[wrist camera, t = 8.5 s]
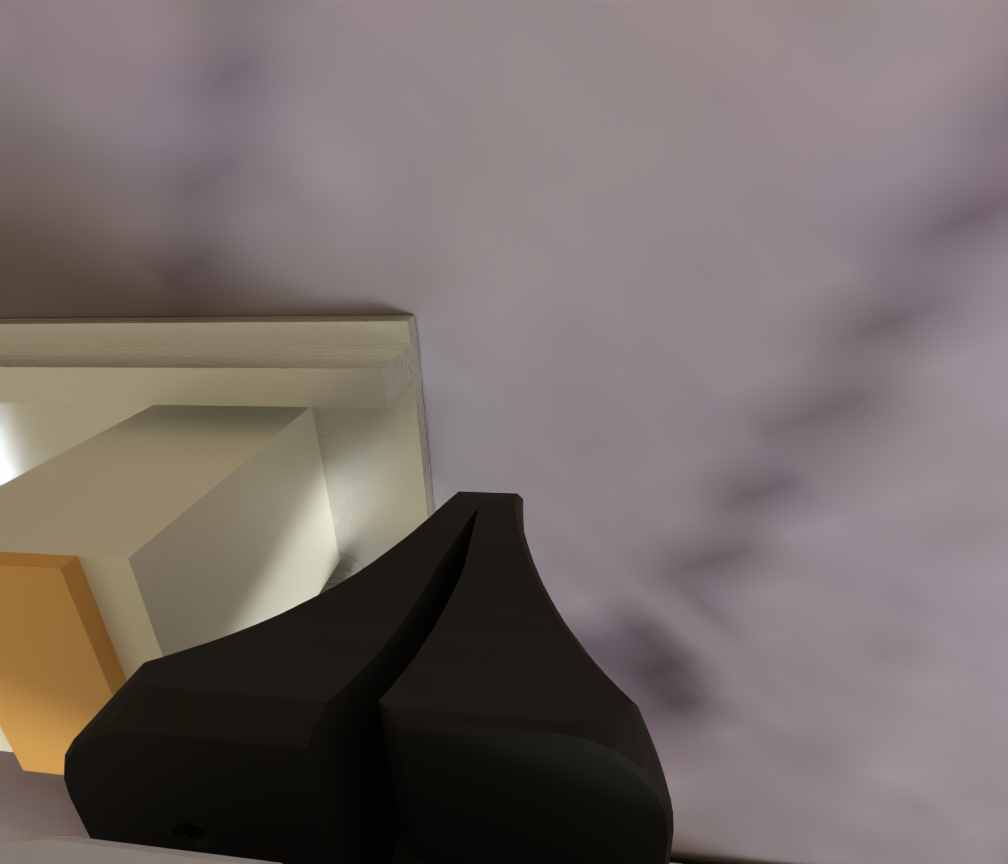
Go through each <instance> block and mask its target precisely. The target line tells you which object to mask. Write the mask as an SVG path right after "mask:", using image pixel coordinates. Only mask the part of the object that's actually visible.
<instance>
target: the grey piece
mask: <svg viewBox="0 0 1008 864" xmlns="http://www.w3.org/2000/svg"><path fill="white" fill-rule="evenodd" d="M152 405H203V406H275V407H312V409H313V414H314V420H315V426H316V431H317V437H318V442H319V448H320V453H321V459H322V464H323V470H324V476H325V481H326V487H327V492H328V498H329V503H330V509H331V514H332V520H333V526H334V531H335V537H336V542H337V548H338V553H339V559H340V562H339V563H338V565H337V566H336V568H335V570H334V571H333V573H332V574H331V576H330V577H329V579H328V580H327V582H326V584H325V585H324V587H323V588H322V590H321V591H320V593H319V594H321V593H323V592H325V591H327V590H329V589H330V588H332V587H334V586H336V585H337V584H339V583H341V582H342V581H344V580H346V579H347V578H349V577H351V576H352V575H354V574H355V573H357V572H359V571H360V570H362V569H363V568H365V567H366V566H368V565H369V564H371V563H372V562H374V561H375V560H376V559H378V558H379V557H380V556H382V555H383V554H384V553H386V552H387V551H388V550H390V549H391V548H392V547H394V546H395V545H396V544H398V543H399V542H400V541H401V540H403V539H404V538H405V537H407V536H408V535H409V534H410V533H412V532H413V531H414V530H415V529H416V528H417V527H419V526H420V525H421V524H422V523H423V522H425V521H426V520H427V519H428V518H429V517H430V516H431V515H433V514H434V504H433V494H432V483H431V473H430V463H429V453H428V443H427V432H426V422H425V412H424V402H423V392H422V381H421V371H420V361H419V351H418V341H417V330H416V320H415V315H372V316H253V317H133V318H13V319H0V486H1V485H3V484H4V483H6V482H8V481H10V480H12V479H14V478H16V477H18V476H20V475H22V474H23V473H25V472H27V471H29V470H31V469H33V468H35V467H37V466H39V465H41V464H42V463H44V462H46V461H48V460H50V459H52V458H54V457H56V456H58V455H59V454H61V453H63V452H65V451H67V450H69V449H71V448H73V447H75V446H77V445H78V444H80V443H82V442H84V441H86V440H88V439H90V438H92V437H94V436H95V435H97V434H99V433H101V432H103V431H105V430H107V429H109V428H111V427H113V426H114V425H116V424H118V423H120V422H122V421H124V420H126V419H128V418H130V417H131V416H133V415H135V414H137V413H139V412H141V411H143V410H145V409H147V408H149V407H150V406H152ZM319 594H318V595H319Z"/></svg>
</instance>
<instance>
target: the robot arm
mask: <svg viewBox="0 0 1008 864" xmlns="http://www.w3.org/2000/svg"><path fill="white" fill-rule="evenodd" d="M64 779H65V783H66V786H67V789H68V792H69V795H70V798H71V800H72V802H73V804H74V806H75V808H76V810H77V812H78V814H79V816H80V818H81V820H82V822H83V824H84V826H85V828H86V830H87V832H88V834H89V836H90V838H91V839H90V838H82V837H74V836H66V835H57V836H43V837H29V838H23V839H19V840H15V841H11V842H8V843H7V844H6V845H5V846H4V847H3V848H2V849H1V850H0V864H682V863H673V862H670V854H671V846H672V838H673V830H674V829H673V810H672V804H671V799H670V795H669V791H668V787H667V783H666V780H665V776H664V773H663V770H662V767H661V764H660V761H659V758H658V755H657V752H656V750H655V747H654V744H653V742H652V739H651V737H650V734H649V732H648V729H647V727H646V725H645V722H644V720H643V718H642V715H641V713H640V711H639V708H638V706H637V705H636V704H635V703H634V702H633V701H632V700H631V699H630V698H629V697H627V696H626V695H625V694H624V693H623V692H622V691H621V690H620V689H619V688H618V687H617V686H616V685H615V684H614V683H613V682H612V681H611V680H610V679H609V677H608V676H607V675H606V674H605V673H604V672H603V671H602V670H601V669H600V667H599V666H598V665H597V664H596V663H595V662H594V661H593V659H592V658H591V657H590V656H589V655H588V653H587V652H586V651H585V649H584V648H583V647H582V645H581V644H580V643H579V641H578V640H577V639H576V637H575V636H574V634H573V633H572V632H571V630H570V629H569V628H568V626H567V625H566V624H565V622H564V620H563V619H562V617H561V616H560V614H559V612H558V611H557V609H556V607H555V606H554V604H553V602H552V600H551V598H550V597H549V595H548V593H547V591H546V589H545V587H544V585H543V583H542V581H541V579H540V576H539V574H538V572H537V569H536V567H535V564H534V562H533V559H532V556H531V554H530V551H529V547H528V544H527V541H526V537H525V534H524V522H523V499H522V498H521V497H520V496H519V495H518V494H512V493H484V492H458V493H457V494H455V495H454V496H453V497H452V498H451V499H449V500H448V501H447V502H446V503H445V504H444V505H443V506H442V507H440V508H439V509H438V510H437V511H436V512H435V513H434V514H433V515H431V516H430V517H429V518H428V519H427V520H426V521H425V522H423V523H422V524H421V525H420V526H419V527H417V528H416V529H415V530H414V531H413V532H412V533H410V534H409V535H408V536H407V537H405V538H404V539H403V540H401V541H400V542H399V543H398V544H396V545H395V546H394V547H392V548H391V549H390V550H388V551H387V552H386V553H384V554H383V555H382V556H380V557H379V558H378V559H376V560H375V561H374V562H372V563H371V564H369V565H368V566H366V567H365V568H363V569H362V570H360V571H359V572H357V573H355V574H354V575H352V576H351V577H349V578H347V579H346V580H344V581H342V582H341V583H339V584H337V585H336V586H334V587H332V588H330V589H329V590H327V591H325V592H323V593H321V594H319V595H317V596H315V597H313V598H311V599H309V600H307V601H305V602H303V603H301V604H299V605H297V606H295V607H293V608H291V609H289V610H287V611H285V612H283V613H281V614H279V615H277V616H274V617H272V618H270V619H267V620H265V621H263V622H260V623H258V624H256V625H253V626H251V627H248V628H246V629H243V630H240V631H238V632H235V633H233V634H230V635H228V636H225V637H222V638H219V639H216V640H214V641H211V642H208V643H205V644H202V645H198V646H195V647H192V648H189V649H186V650H183V651H180V652H177V653H173V654H170V655H167V656H164V657H161V658H157V659H154V660H150V661H147V662H144V663H143V664H142V665H141V666H140V667H139V668H138V670H137V671H136V672H135V673H134V674H133V675H132V676H131V677H130V678H129V679H128V680H127V682H126V683H125V684H124V685H123V686H122V687H121V688H120V689H119V690H118V691H117V692H116V694H115V695H114V696H113V697H112V698H111V699H110V700H109V701H108V702H107V703H106V705H105V706H104V707H103V708H102V709H101V710H100V711H99V712H98V713H97V714H96V715H95V717H94V718H93V719H92V720H91V721H90V722H89V723H88V724H87V725H86V726H85V728H84V729H83V730H82V731H81V732H80V733H79V734H78V735H77V736H76V737H75V738H74V740H73V741H72V743H71V745H70V747H69V748H68V750H67V752H66V754H65V760H64Z"/></svg>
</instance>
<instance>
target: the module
mask: <svg viewBox="0 0 1008 864" xmlns="http://www.w3.org/2000/svg"><path fill="white" fill-rule="evenodd" d="M339 562H340V559H339V553H338V548H337V542H336V537H335V531H334V526H333V520H332V514H331V509H330V503H329V498H328V492H327V487H326V481H325V476H324V470H323V464H322V459H321V453H320V448H319V442H318V437H317V431H316V426H315V420H314V414H313V409H312V407H275V406H203V405H152V406H150V407H149V408H147V409H145V410H143V411H141V412H139V413H137V414H135V415H133V416H131V417H130V418H128V419H126V420H124V421H122V422H120V423H118V424H116V425H114V426H113V427H111V428H109V429H107V430H105V431H103V432H101V433H99V434H97V435H95V436H94V437H92V438H90V439H88V440H86V441H84V442H82V443H80V444H78V445H77V446H75V447H73V448H71V449H69V450H67V451H65V452H63V453H61V454H59V455H58V456H56V457H54V458H52V459H50V460H48V461H46V462H44V463H42V464H41V465H39V466H37V467H35V468H33V469H31V470H29V471H27V472H25V473H23V474H22V475H20V476H18V477H16V478H14V479H12V480H10V481H8V482H6V483H4V484H3V485H1V486H0V751H7V752H14V754H15V755H16V757H17V759H18V761H19V763H20V765H21V767H22V769H23V770H24V771H33V772H42V773H51V774H60V775H64V760H65V754H66V752H67V750H68V748H69V747H70V745H71V743H72V741H73V740H74V738H75V737H76V736H77V735H78V734H79V733H80V732H81V731H82V730H83V729H84V728H85V726H86V725H87V724H88V723H89V722H90V721H91V720H92V719H93V718H94V717H95V715H96V714H97V713H98V712H99V711H100V710H101V709H102V708H103V707H104V706H105V705H106V703H107V702H108V701H109V700H110V699H111V698H112V697H113V696H114V695H115V694H116V692H117V691H118V690H119V689H120V688H121V687H122V686H123V685H124V684H125V683H126V682H127V680H128V679H129V678H130V677H131V676H132V675H133V674H134V673H135V672H136V671H137V670H138V668H139V667H140V666H141V665H142V664H143V663H144V662H147V661H150V660H154V659H157V658H161V657H164V656H167V655H170V654H173V653H177V652H180V651H183V650H186V649H189V648H192V647H195V646H198V645H202V644H205V643H208V642H211V641H214V640H216V639H219V638H222V637H225V636H228V635H230V634H233V633H235V632H238V631H240V630H243V629H246V628H248V627H251V626H253V625H256V624H258V623H260V622H263V621H265V620H267V619H270V618H272V617H274V616H277V615H279V614H281V613H283V612H285V611H287V610H289V609H291V608H293V607H295V606H297V605H299V604H301V603H303V602H305V601H307V600H309V599H311V598H313V597H315V596H317V595H318V594H319V593H320V591H321V590H322V588H323V587H324V585H325V584H326V582H327V580H328V579H329V577H330V576H331V574H332V573H333V571H334V570H335V568H336V566H337V565H338V563H339Z"/></svg>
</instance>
